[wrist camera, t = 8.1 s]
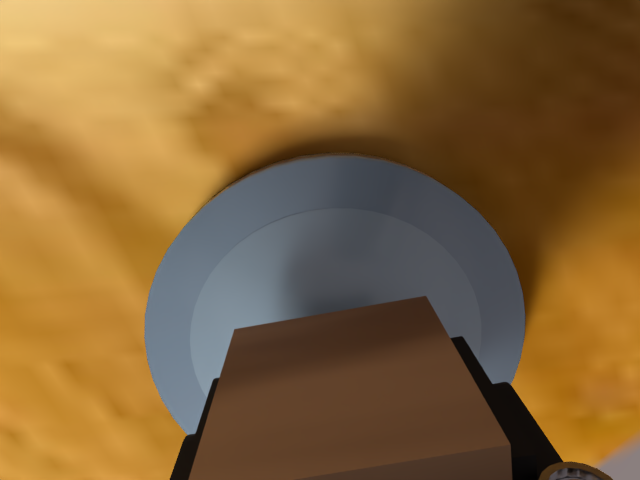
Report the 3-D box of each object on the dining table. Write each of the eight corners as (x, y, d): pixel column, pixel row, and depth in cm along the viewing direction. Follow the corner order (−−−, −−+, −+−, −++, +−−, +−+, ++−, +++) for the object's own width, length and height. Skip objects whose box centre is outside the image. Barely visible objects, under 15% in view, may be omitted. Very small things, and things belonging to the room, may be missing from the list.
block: (234, 328, 12) (182, 497, 7) (425, 295, 11) (510, 444, 7) (275, 475, 13) (256, 693, 8) (443, 448, 13) (521, 655, 8)
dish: (106, 192, 14) (87, 202, 12) (500, 118, 13) (519, 121, 12) (209, 487, 17) (202, 517, 16) (515, 437, 17) (530, 463, 16)
